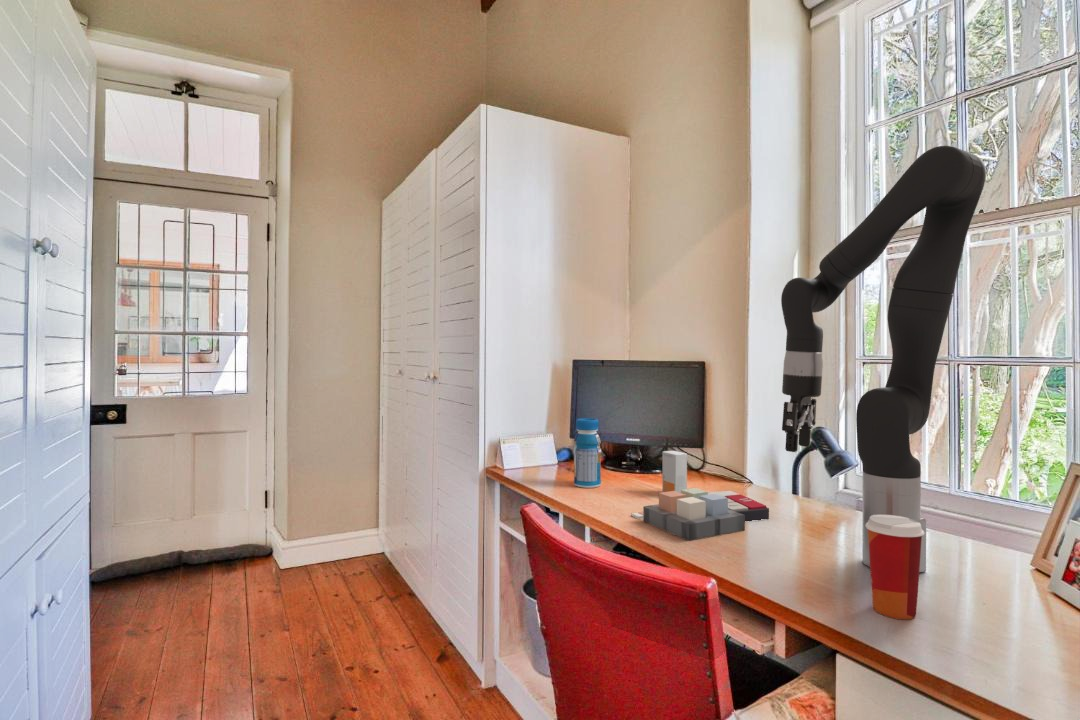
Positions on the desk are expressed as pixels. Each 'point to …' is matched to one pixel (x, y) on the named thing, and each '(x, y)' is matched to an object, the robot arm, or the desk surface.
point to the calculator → (745, 506)
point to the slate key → (715, 504)
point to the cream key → (691, 508)
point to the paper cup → (894, 564)
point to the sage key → (694, 492)
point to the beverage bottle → (587, 454)
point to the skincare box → (674, 471)
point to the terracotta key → (669, 500)
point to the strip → (637, 515)
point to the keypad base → (694, 523)
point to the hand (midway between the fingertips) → (797, 448)
